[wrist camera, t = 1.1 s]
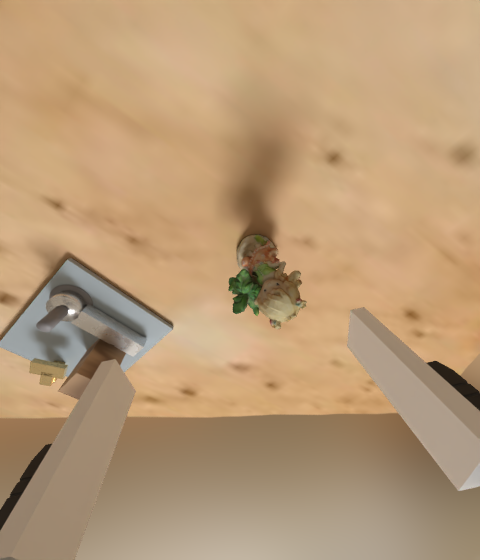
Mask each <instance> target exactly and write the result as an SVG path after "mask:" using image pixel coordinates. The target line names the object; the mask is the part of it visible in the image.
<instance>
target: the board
mask: <svg viewBox="0 0 480 560" xmlns="http://www.w3.org/2000/svg"><path fill="white" fill-rule="evenodd" d="M63 290H71V291H74V292H77V293H79V294H80V295H81V296H82V297H83V298H84V299H85V301H86V304H87V305H88V304H90V305H91V306H93V307H95V308H96V309H98V310H100V311H101V312H103V313H105V314H106V315H108V316H110V317H111V318H113V319H115V320H116V321H118V322H120V323H121V324H123V325H125V326H126V327H128V328H130V329H131V330H133V331H135V332H136V333H138V334H140V335H141V336H143V337H145V338H146V339H147V341H146V343H145V346H144V348H142V349H141V350H140V351H139V352H138V353H137V354H136V355H135V356H134V357H133V356H131V355H129V354H127V353H126V354H125V356H124V358H123V361H122V363H121V365H120V367H121V368H122V370H123V372H125V371H126V370H127V369H128V368H130V367H131V366H132V365H133V364H134V363H135V362H136V361H137V360H139V359H140V358H141V357H142V356H143V355H144V354H145V353H147V352H148V351H149V350H150V349H151V348H152V347H153V346H154V345H156V344H157V343H158V342H159V341H160V340H161V339H162V338H163V337H165V336H166V335H167V334H168V333H169V332H170V331H171V330H173V326H172V325H171V324H169V323H168V322H166V321H165V320H163V319H162V318H160V317H159V316H157V315H156V314H154V313H153V312H151V311H150V310H148V309H147V308H145V307H144V306H142V305H141V304H139V303H138V302H136V301H135V300H133V299H132V298H130V297H129V296H127V295H126V294H124V293H123V292H121V291H120V290H118V289H117V288H115V287H114V286H112V285H111V284H109V283H108V282H106V281H105V280H103V279H102V278H100V277H99V276H97V275H96V274H94V273H93V272H91V271H90V270H89V269H87V268H86V267H84V266H83V265H81V264H80V263H78V262H77V261H75V260H74V259H72V258H69V259H67V260H66V262H65V263H64V264H63V265H62V267H61V268H60V269H59V270H58V271H57V273H56V274H55V275H54V276H53V278H52V279H51V280H50V281H49V282H48V284H47V285H46V286H45V287H44V289H43V290H42V291H41V292H40V293H39V295H38V296H37V297H36V298H35V300H34V301H33V302H32V303H31V304H30V306H29V307H28V308H27V309H26V311H25V312H24V313H23V314H22V315H21V317H20V318H19V319H18V320H17V322H16V323H15V324H14V325H13V326H12V328H11V329H10V330H9V331H8V333H7V334H6V335H5V336H4V337H3V339H2V340H1V341H0V347H1V348H3V349H6V350H8V351H10V352H12V353H15V354H17V355H19V356H22V357H24V358H26V359H28V360H31V361H32V360H33V359H34V358H37V359H42V360H46V361H51V362H54V360H55V361H60V362H65V363H66V365H68V367H67V372H66V376H67V377H68V376H69V375H70V374H71V372H72V371H73V369H74V368H75V366H76V365H77V364H78V362H79V361H80V359H81V358H82V357H83V355H84V354H85V352H86V351H87V350H88V349H89V348H90V347H91V346H92V345H93V344H94V343H95V342H96V341H97V340H98V339H99V338H98V337H96V336H94V335H92V334H90V333H88V332H87V331H85V330H83V329H81V328H79V327H77V326H76V325H74V324H72V323H71V322H72V321H68V322H66V321H61V320H62V319H63V318H64V317H65V316H66V315H67V314H68V309H67V308H65V307H64V306H56V307H55V308H54V309H53V310H52V311H50V312H49V313H48V312H47V310H46V303H47V301H48V300H49V299H50V298H52V297H53V296H54V295H56V294H57V293H58V292H60V291H63Z"/></svg>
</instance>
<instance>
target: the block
mask: <svg viewBox="0 0 480 560" xmlns="http://www.w3.org/2000/svg"><path fill="white" fill-rule="evenodd" d="M125 354H126V353H125V352H123V351H122V350H120V349H118V348H116V347H114V346H112V345H110V344H109V343H107V342H105V341H103V340H101V339H98V340H97V341H96V342H95V343H94V344H93V345H92V346H91V347H90V348H89V349H88V350H87V351H86V352H85V354H84V355H83V357H82V358H81V359H80V361H79V362H78V364H77V365H76V366H75V368H74V369H73V371H72V372H71V374H70V375H69V376H68V378H67V379H66V381H65V382H64V383H63V385H62V386H61V388H60V389H59V390H58V391H59V392H61V393H64V394H66V395H69V396H71V397H74V398H76V399H80V397H81V395H82V394H83V392H84V390H85V389H86V387H87V385H88V384H89V382H90V380H91V379H92V377H93V375H94V374H95V372H96V370H97V369H98V367H99V365H100V364H101V362H104V361H108V360H113V359H116V361H117V362H118V364H119V365H121V363H122V361H123V358H124V356H125Z"/></svg>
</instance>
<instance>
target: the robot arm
mask: <svg viewBox="0 0 480 560" xmlns="http://www.w3.org/2000/svg"><path fill="white" fill-rule="evenodd" d="M347 347H348V348H349V349H350V351H351V352H352V353H353V354H354V356H355V357H356V358H357V360H358V361H359V362H360V364H361V365H362V366H363V367H364V369H365V370H366V371H367V373H368V374H369V375H370V377H371V378H372V379H373V380H374V382H375V383H376V384H377V386H378V387H379V388H380V390H381V391H382V392H383V393H384V395H385V396H386V397H387V399H388V400H389V401H390V403H391V404H392V405H393V406H394V408H395V409H396V410H397V412H398V413H399V414H400V416H401V417H402V418H403V420H404V421H405V422H406V423H407V425H408V426H409V427H410V429H411V430H412V431H413V433H414V434H415V435H416V436H417V438H418V439H419V440H420V442H421V443H422V444H423V446H424V447H425V448H426V449H427V450H428V452H429V453H430V454H431V456H432V457H433V459H434V460H435V461H436V462H437V464H438V465H439V466H440V468H441V469H442V470H443V472H444V473H445V474H446V475H447V476H448V478H449V479H450V481H451V482H452V483H453V484H454V486H455V487H456V489H457V490H458V491H461V490H465V489H470V488H474V487H479V486H480V393H479V391H478V390H477V389H475V388H474V387H473V386H472V385H471V384H468V383H467V381H466V380H465V379H463V378H462V377H461V376H460V375H458V374H457V373H456V372H455V371H454V370H452V369H450V368H448V367H447V366H445V365H443V364H441V363H439V362H437V361H433V362H428V363H426V362H424V361H423V360H422V359H421V358H420V357H419V356H418V355H417V354H416V353H414V352H413V351H412V350H411V349H410V348H409V347H408V346H407V345H405V344H404V343H403V342H402V341H401V340H400V339H399V338H398V337H397V336H395V335H394V334H393V333H392V332H391V331H390V330H389V329H388V328H387V327H385V326H384V325H383V324H382V323H381V322H380V321H379V320H378V319H376V318H375V317H374V316H373V315H372V314H371V313H370V312H369V311H368V310H366V309H365V308H364V307H363V308H358V309H353V310H350V322H349V333H348V344H347ZM135 392H136V391H135V389H134V387H133V386H132V384H131V383H130V381H129V380H128V378H127V376H126V375H125V373H124V372H123V370H122V368H121V367H120V365H119V364H118V362H117V361H116V359H113V360H108V361H104V362H101V364H100V365H99V367H98V369H97V370H96V372H95V374H94V375H93V377H92V379H91V380H90V382H89V384H88V385H87V387H86V389H85V390H84V392H83V394H82V395H81V397H80V399H79V400H78V402H77V404H76V405H75V407H74V409H73V410H72V412H71V414H70V415H69V417H68V419H67V421H66V422H65V424H64V425H63V427H62V429H61V430H60V432H59V434H58V435H57V437H56V439H55V440H54V442H53V444H48V445H45V447H44V448H43V449H42V450H41V451H40V452H39V453H38V454H37V455H36V456H35V458H34V459H33V460H32V461H31V463H30V464H29V466H28V467H27V469H26V470H25V472H24V473H23V475H22V477H21V478H20V482H18V483H17V485H16V486H15V488H14V489H13V491H12V492H11V494H10V498H8V499H7V500H6V502H5V503H4V505H3V507H2V508H1V510H0V560H75V557H76V554H77V552H78V549H79V546H80V543H81V541H82V538H83V535H84V532H85V530H86V527H87V524H88V521H89V519H90V516H91V513H92V510H93V507H94V505H95V502H96V499H97V497H98V494H99V491H100V488H101V485H102V483H103V480H104V477H105V474H106V471H107V469H108V466H109V463H110V461H111V458H112V455H113V452H114V449H115V447H116V444H117V441H118V439H119V436H120V433H121V430H122V427H123V425H124V422H125V419H126V417H127V414H128V411H129V408H130V406H131V403H132V400H133V397H134V394H135Z"/></svg>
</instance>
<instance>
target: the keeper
mask: <svg viewBox="0 0 480 560" xmlns="http://www.w3.org/2000/svg"><path fill="white" fill-rule="evenodd" d="M67 367H68V365H66V363H65V362H60V361H55V360H54V362H51V361H46V360H42V359H37V358H34V359H33V360H32V361H31V363H30V372H29V373H33V374H38V375H41V377H40V384H41V385H46V386H51V385H52V383H54V382H55V381H56V380H57V378H59V379H63V378H64V377H65V376H66V372H67Z"/></svg>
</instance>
